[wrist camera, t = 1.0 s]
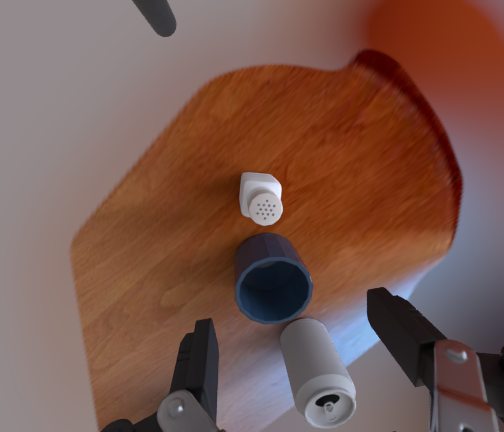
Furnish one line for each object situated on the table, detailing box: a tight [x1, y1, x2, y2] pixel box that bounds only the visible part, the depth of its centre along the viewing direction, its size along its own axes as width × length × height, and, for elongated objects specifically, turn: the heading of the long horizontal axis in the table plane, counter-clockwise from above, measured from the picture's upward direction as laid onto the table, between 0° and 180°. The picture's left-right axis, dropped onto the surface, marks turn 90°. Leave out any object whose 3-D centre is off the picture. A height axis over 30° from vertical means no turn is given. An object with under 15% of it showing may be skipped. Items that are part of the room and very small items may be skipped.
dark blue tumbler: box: [234, 233, 313, 324], centre depth 33 cm, size 9×9×7 cm
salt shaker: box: [239, 172, 283, 226], centre depth 28 cm, size 4×4×10 cm
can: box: [280, 318, 356, 429], centre depth 35 cm, size 8×8×12 cm
